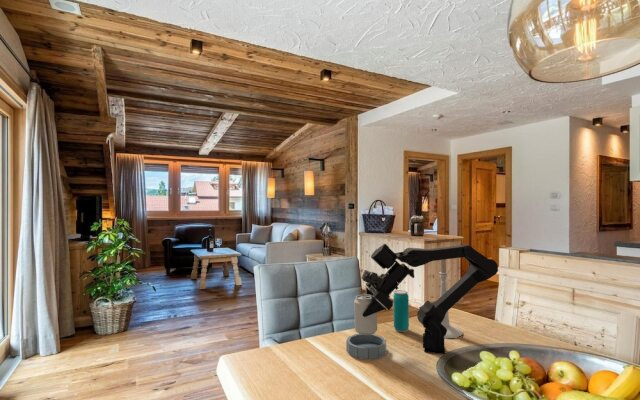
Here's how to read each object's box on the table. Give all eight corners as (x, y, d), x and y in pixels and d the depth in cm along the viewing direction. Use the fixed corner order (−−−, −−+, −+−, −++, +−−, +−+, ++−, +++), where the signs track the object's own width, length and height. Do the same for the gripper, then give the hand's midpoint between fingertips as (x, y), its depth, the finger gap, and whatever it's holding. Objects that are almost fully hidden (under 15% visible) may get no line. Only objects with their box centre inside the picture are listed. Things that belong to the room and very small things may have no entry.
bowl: (387, 345, 123) (387, 335, 123) (383, 361, 110) (383, 350, 110) (351, 341, 126) (351, 331, 126) (343, 356, 114) (343, 345, 114)
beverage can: (407, 327, 140) (407, 290, 140) (410, 333, 134) (409, 293, 134) (393, 327, 141) (392, 290, 141) (394, 332, 135) (394, 293, 135)
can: (381, 330, 119) (380, 295, 119) (370, 337, 113) (369, 300, 113) (362, 326, 123) (361, 292, 124) (350, 333, 117) (349, 297, 118)
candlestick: (425, 336, 131) (424, 255, 132) (428, 325, 143) (427, 251, 143) (462, 340, 126) (460, 257, 127) (462, 329, 138) (461, 252, 139)
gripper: (370, 257, 128) (341, 289, 127) (381, 266, 109) (347, 303, 109) (392, 278, 128) (363, 310, 127) (407, 291, 109) (373, 328, 109)
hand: (361, 312), depth 118 cm, fingers closed on can, 7 cm apart
